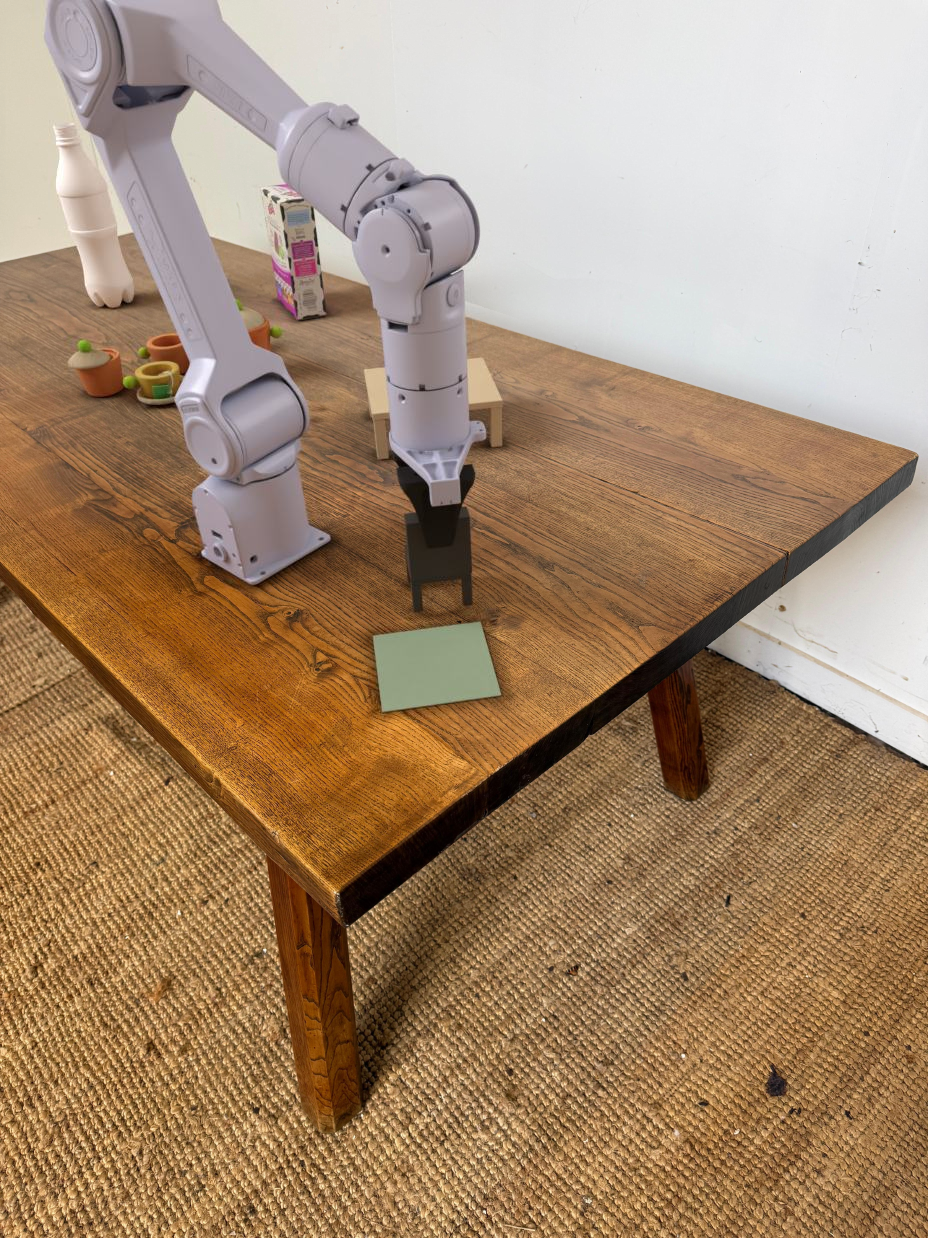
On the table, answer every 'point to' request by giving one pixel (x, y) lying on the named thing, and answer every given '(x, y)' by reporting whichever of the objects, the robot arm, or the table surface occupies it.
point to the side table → (479, 397)
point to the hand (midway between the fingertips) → (437, 537)
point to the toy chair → (438, 559)
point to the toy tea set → (154, 363)
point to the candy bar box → (294, 251)
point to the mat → (434, 667)
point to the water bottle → (91, 221)
